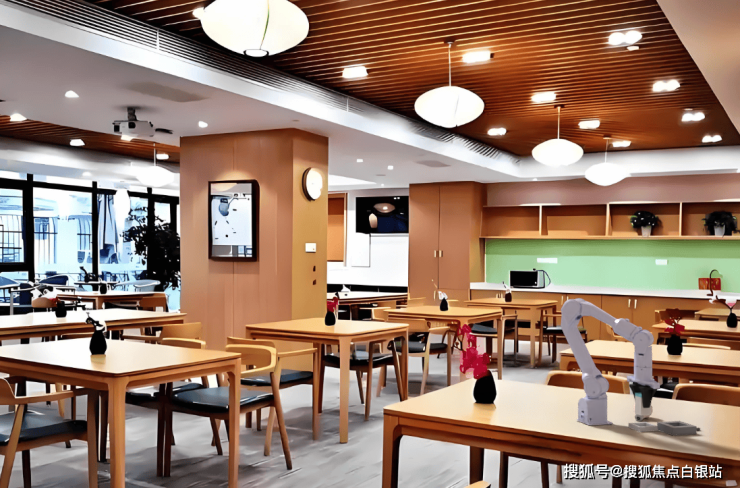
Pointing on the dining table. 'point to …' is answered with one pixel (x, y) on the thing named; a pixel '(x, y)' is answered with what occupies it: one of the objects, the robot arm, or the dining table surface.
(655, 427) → the tray
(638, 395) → the plug
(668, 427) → the panel
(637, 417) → the light bulb
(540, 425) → the dining table surface
